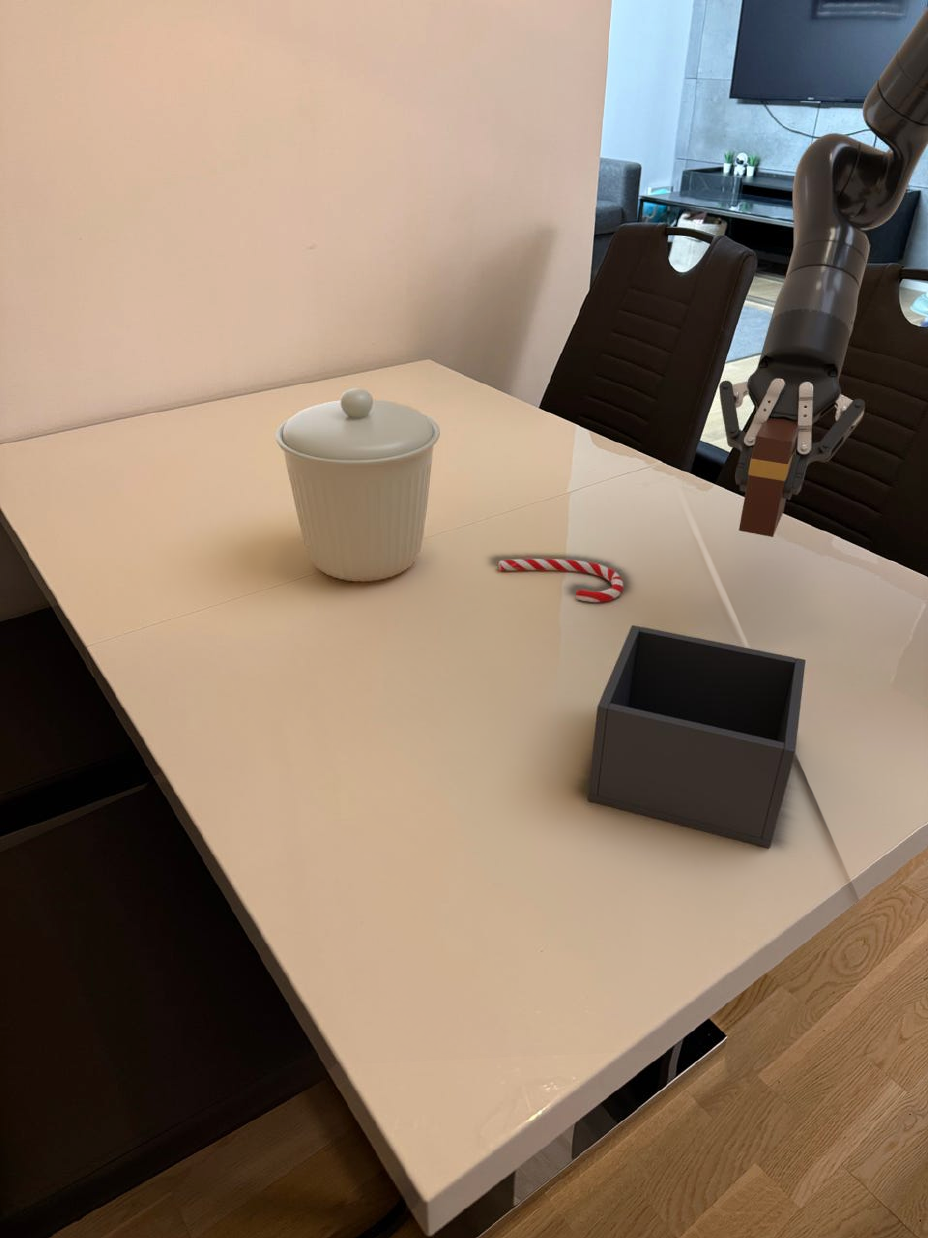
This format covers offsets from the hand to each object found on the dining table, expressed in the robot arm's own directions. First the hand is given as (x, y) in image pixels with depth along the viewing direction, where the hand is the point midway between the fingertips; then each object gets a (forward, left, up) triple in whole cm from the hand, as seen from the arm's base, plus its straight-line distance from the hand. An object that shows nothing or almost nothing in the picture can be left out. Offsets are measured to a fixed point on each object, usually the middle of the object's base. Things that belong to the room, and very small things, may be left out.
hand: (765, 491), depth 85 cm
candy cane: (+17, -14, -18) cm, 28 cm away
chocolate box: (-1, -2, -4) cm, 4 cm away
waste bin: (+8, +19, -18) cm, 28 cm away
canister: (+40, -18, -18) cm, 47 cm away
